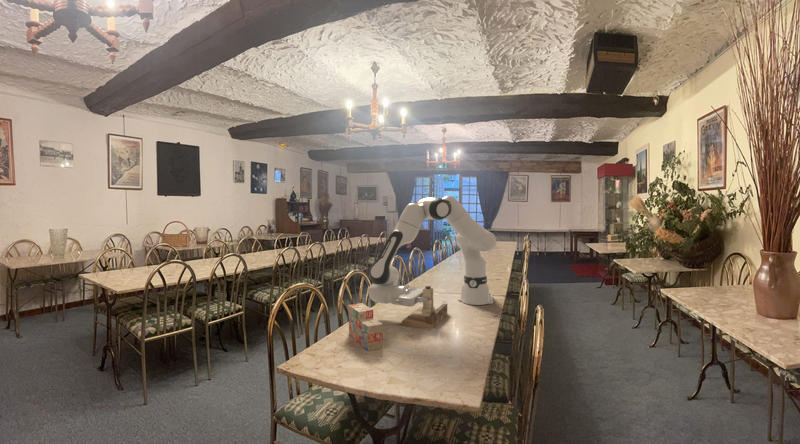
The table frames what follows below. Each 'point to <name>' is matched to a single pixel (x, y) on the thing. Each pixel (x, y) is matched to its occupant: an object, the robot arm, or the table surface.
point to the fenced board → (425, 318)
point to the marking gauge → (428, 306)
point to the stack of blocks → (365, 327)
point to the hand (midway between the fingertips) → (430, 298)
